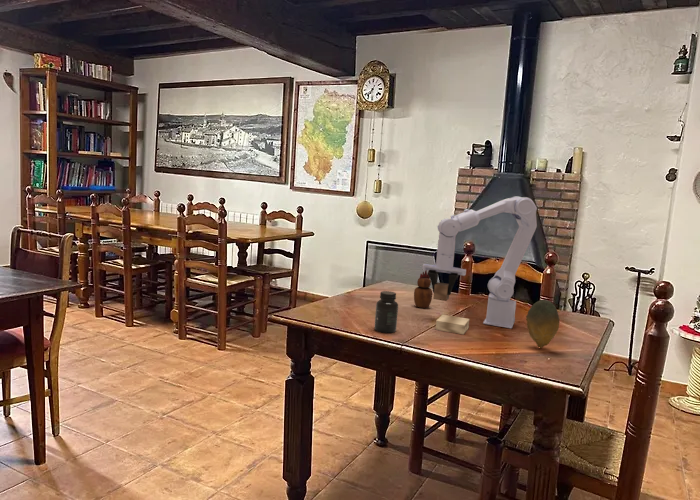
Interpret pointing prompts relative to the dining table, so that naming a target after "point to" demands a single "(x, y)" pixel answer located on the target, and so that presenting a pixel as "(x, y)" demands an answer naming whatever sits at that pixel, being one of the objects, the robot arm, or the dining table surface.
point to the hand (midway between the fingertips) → (441, 293)
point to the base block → (452, 324)
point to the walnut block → (441, 291)
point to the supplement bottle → (386, 313)
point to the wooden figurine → (423, 291)
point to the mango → (542, 322)
